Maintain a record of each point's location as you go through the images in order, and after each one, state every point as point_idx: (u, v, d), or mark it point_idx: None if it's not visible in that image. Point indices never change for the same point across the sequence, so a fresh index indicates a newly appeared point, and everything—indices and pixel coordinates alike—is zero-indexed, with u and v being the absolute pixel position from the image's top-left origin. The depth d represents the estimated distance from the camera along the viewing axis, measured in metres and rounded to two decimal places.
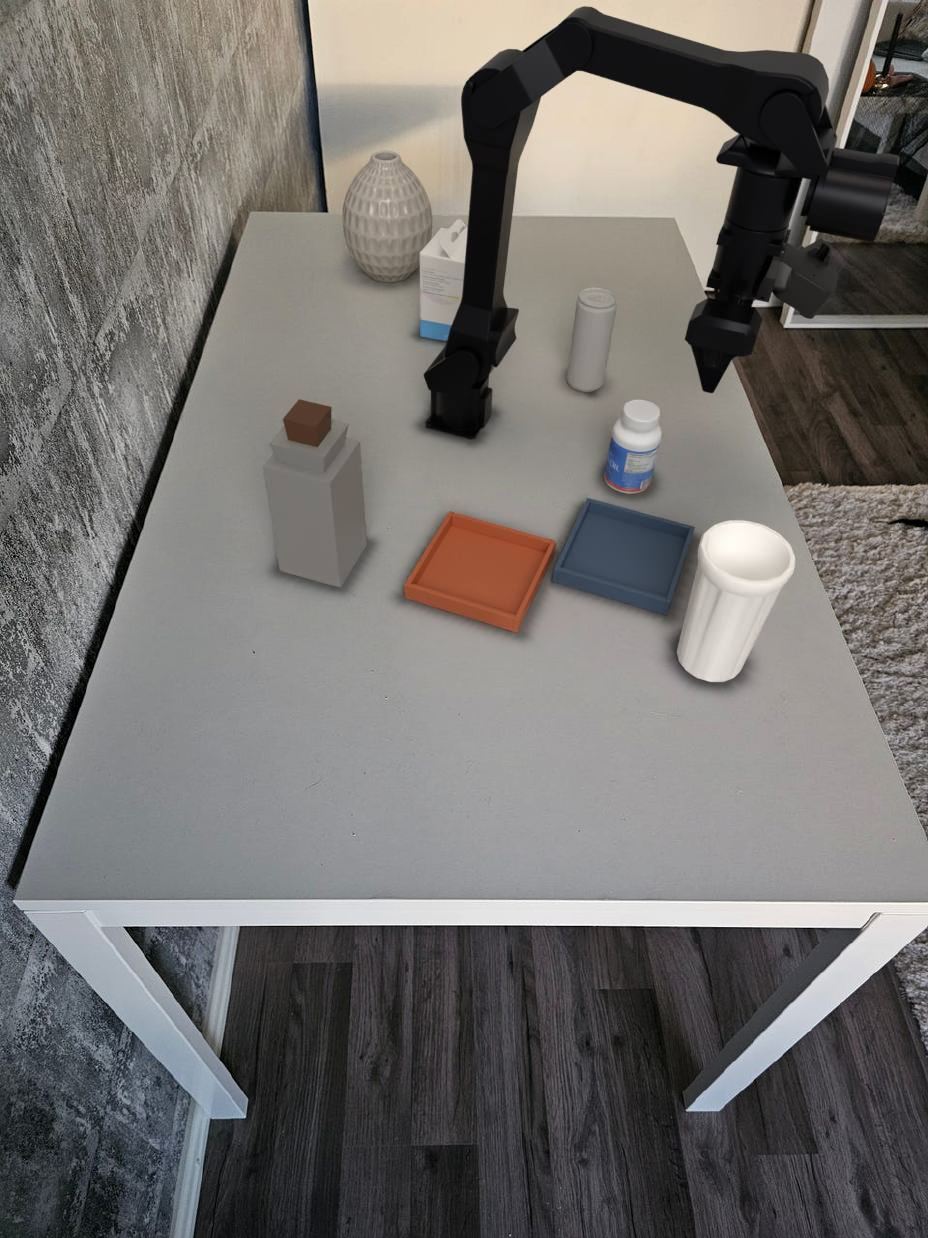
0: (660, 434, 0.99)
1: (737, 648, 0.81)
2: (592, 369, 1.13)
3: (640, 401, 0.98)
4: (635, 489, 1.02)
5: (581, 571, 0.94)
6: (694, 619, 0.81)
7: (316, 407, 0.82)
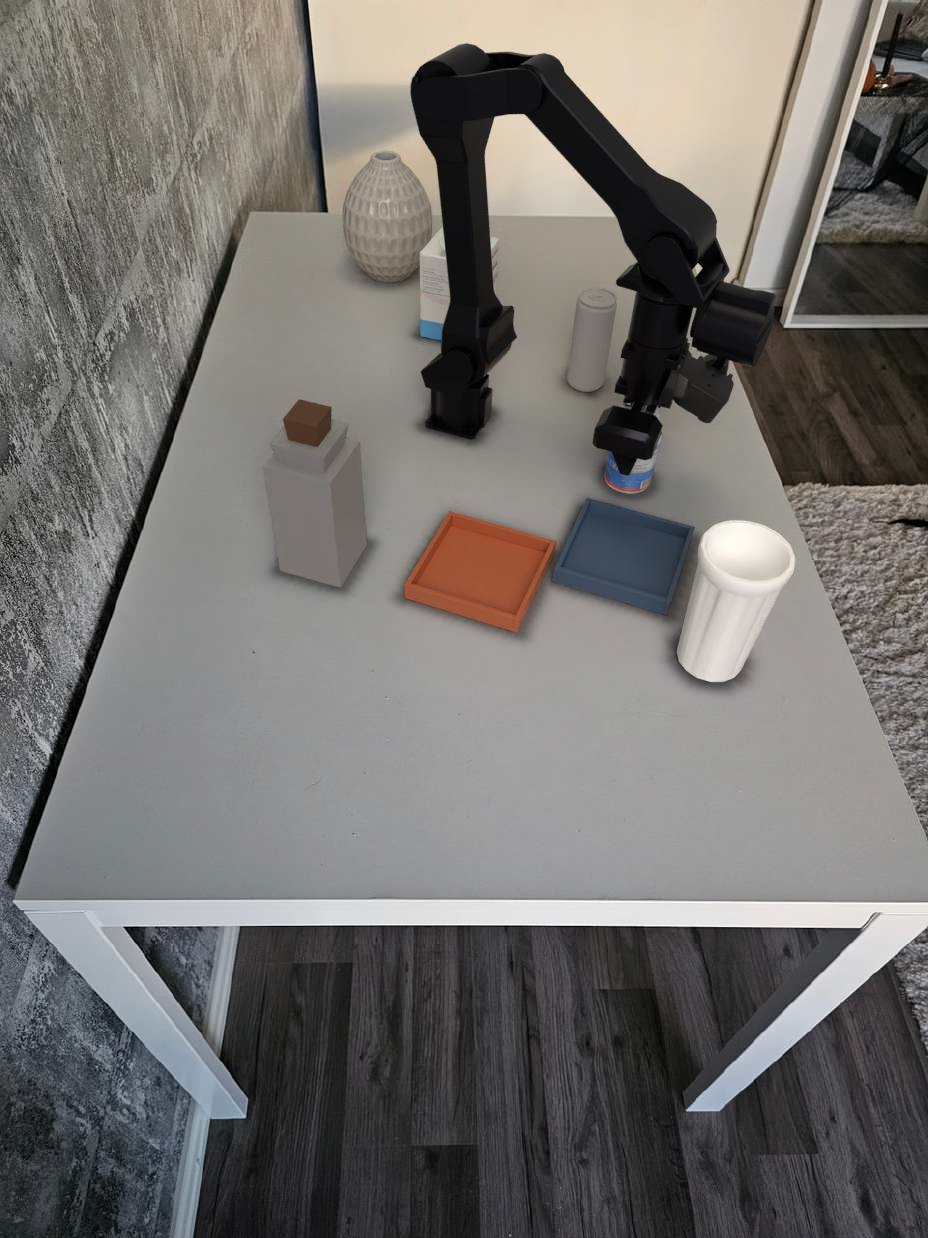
0: None
1: (737, 648, 0.81)
2: (592, 369, 1.13)
3: None
4: (635, 489, 1.02)
5: (581, 571, 0.94)
6: (694, 619, 0.81)
7: (316, 407, 0.82)
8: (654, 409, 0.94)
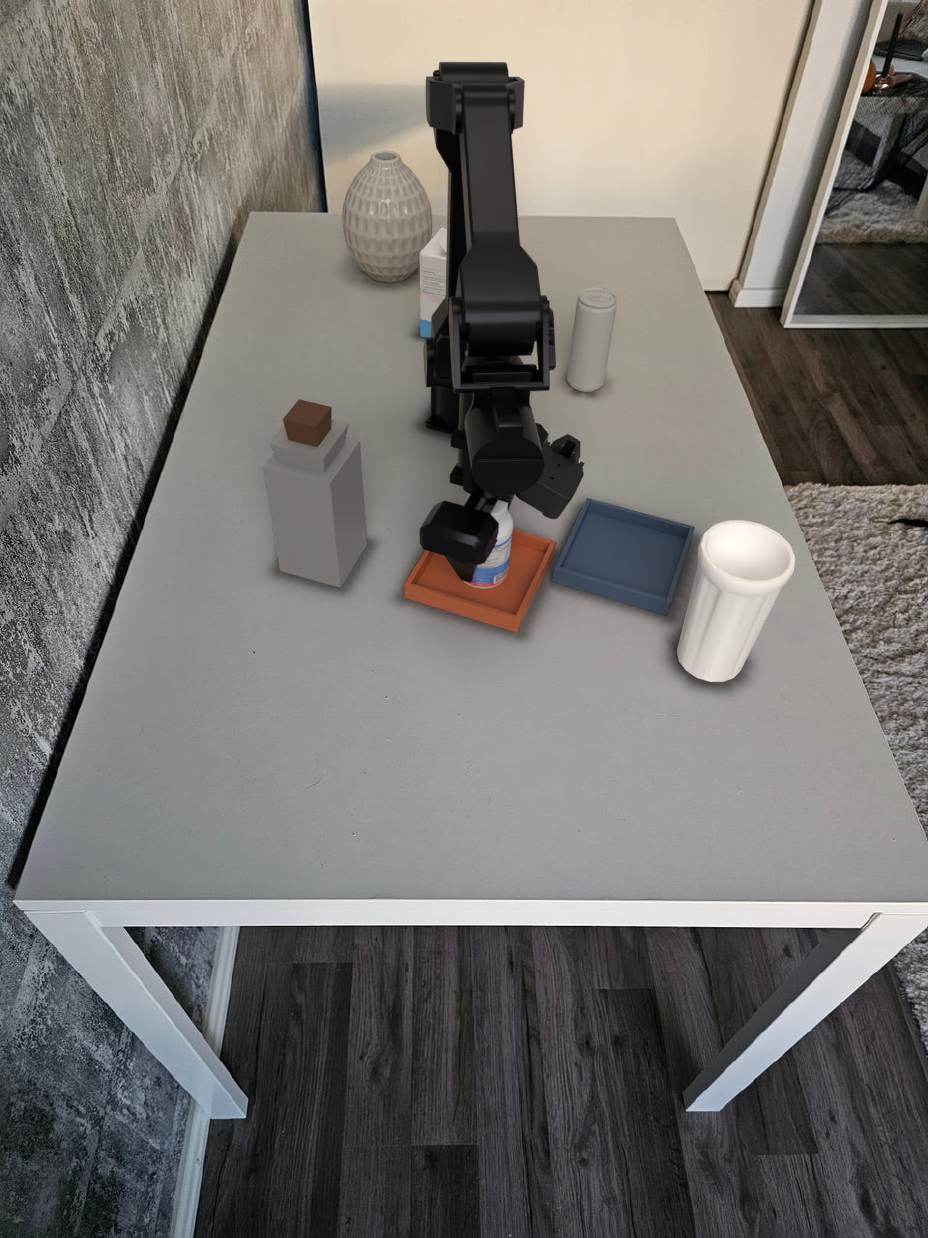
0: (510, 526, 0.87)
1: (737, 648, 0.81)
2: (592, 369, 1.13)
3: None
4: (488, 584, 0.91)
5: (581, 571, 0.94)
6: (694, 619, 0.81)
7: (316, 407, 0.82)
8: None
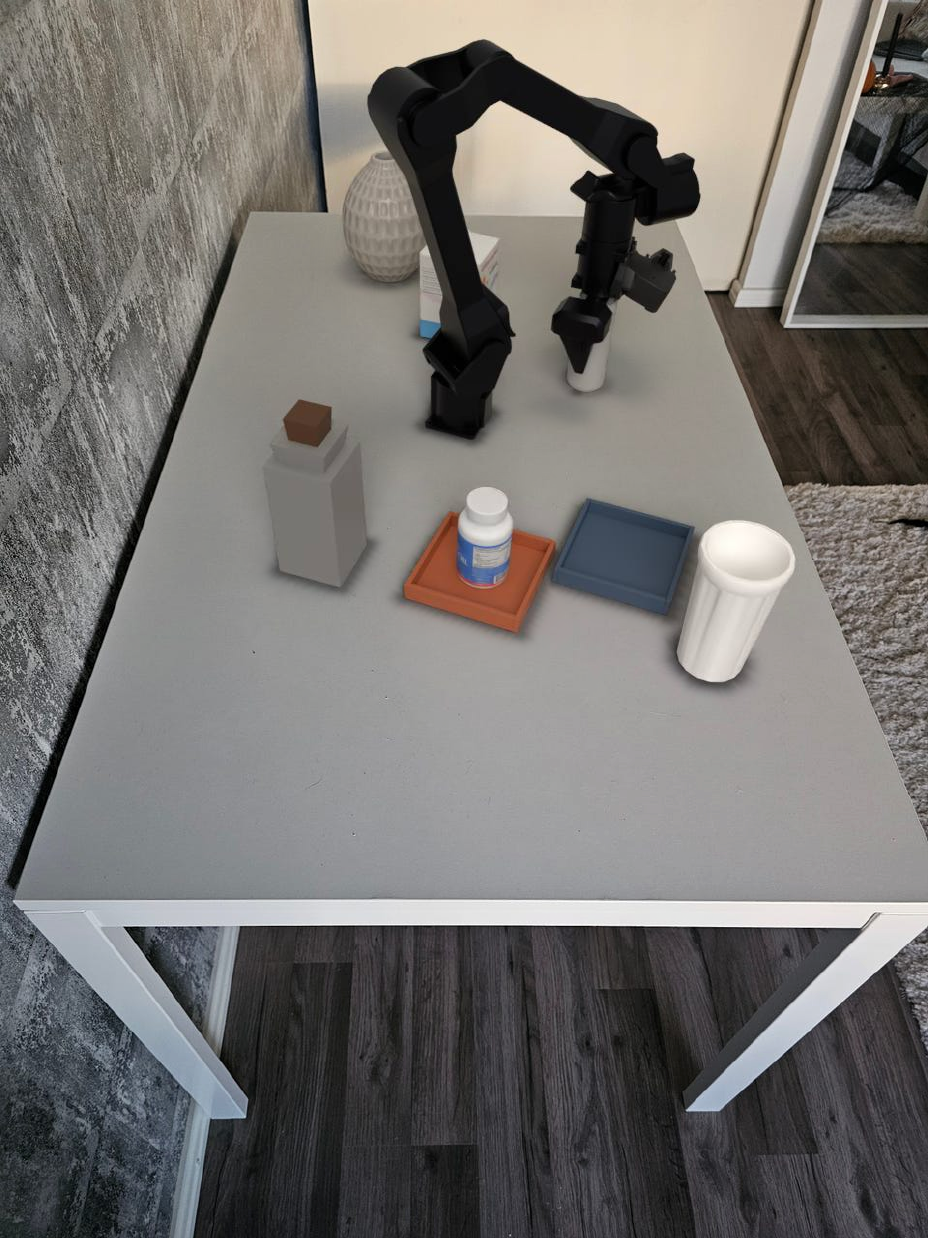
0: (510, 526, 0.87)
1: (737, 648, 0.81)
2: (593, 369, 1.13)
3: (487, 489, 0.87)
4: (488, 584, 0.91)
5: (581, 571, 0.94)
6: (694, 619, 0.81)
7: (316, 407, 0.82)
8: None
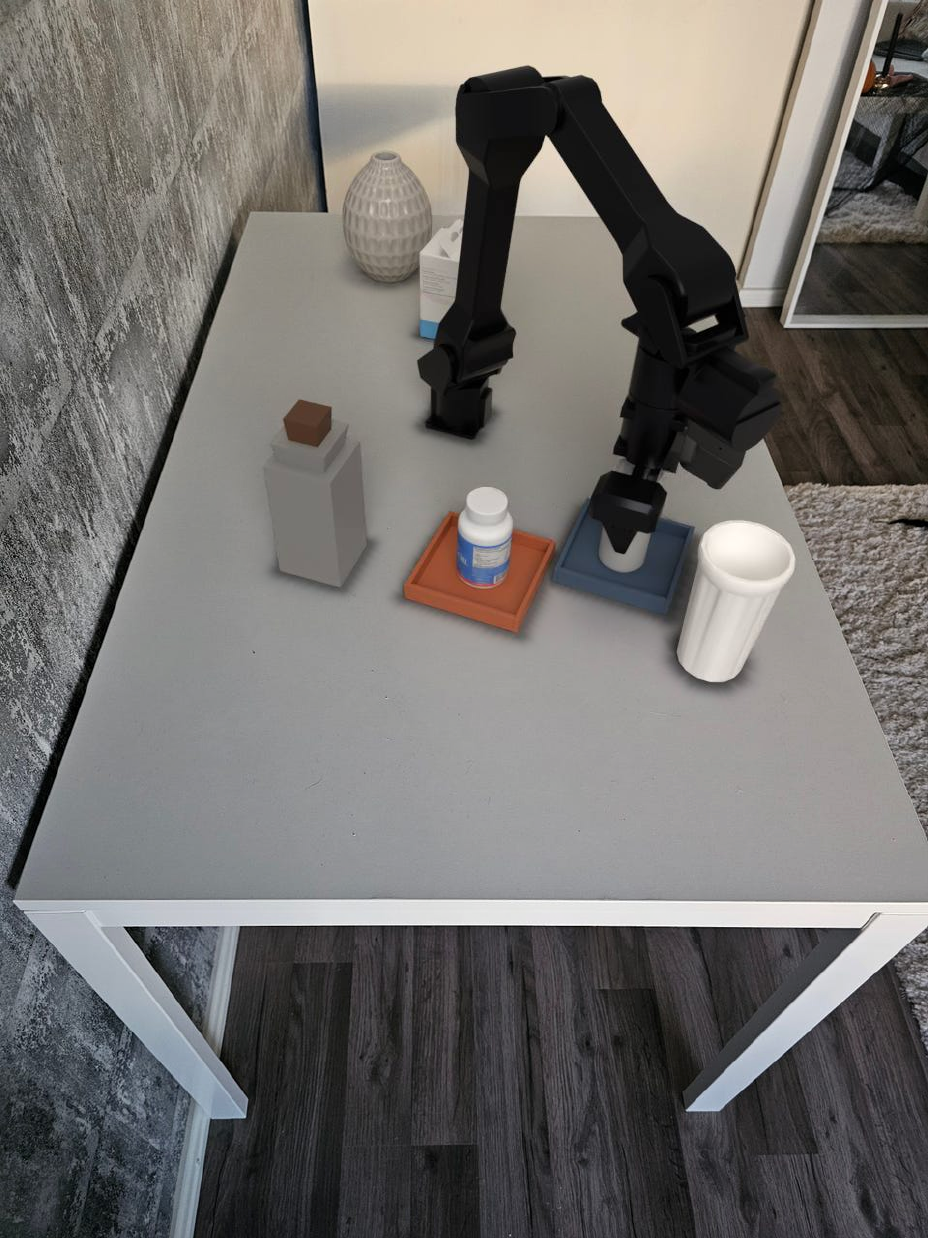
0: (510, 526, 0.87)
1: (737, 648, 0.81)
2: (632, 551, 0.91)
3: (487, 489, 0.87)
4: (488, 584, 0.91)
5: (581, 571, 0.94)
6: (694, 619, 0.81)
7: (316, 407, 0.82)
8: None
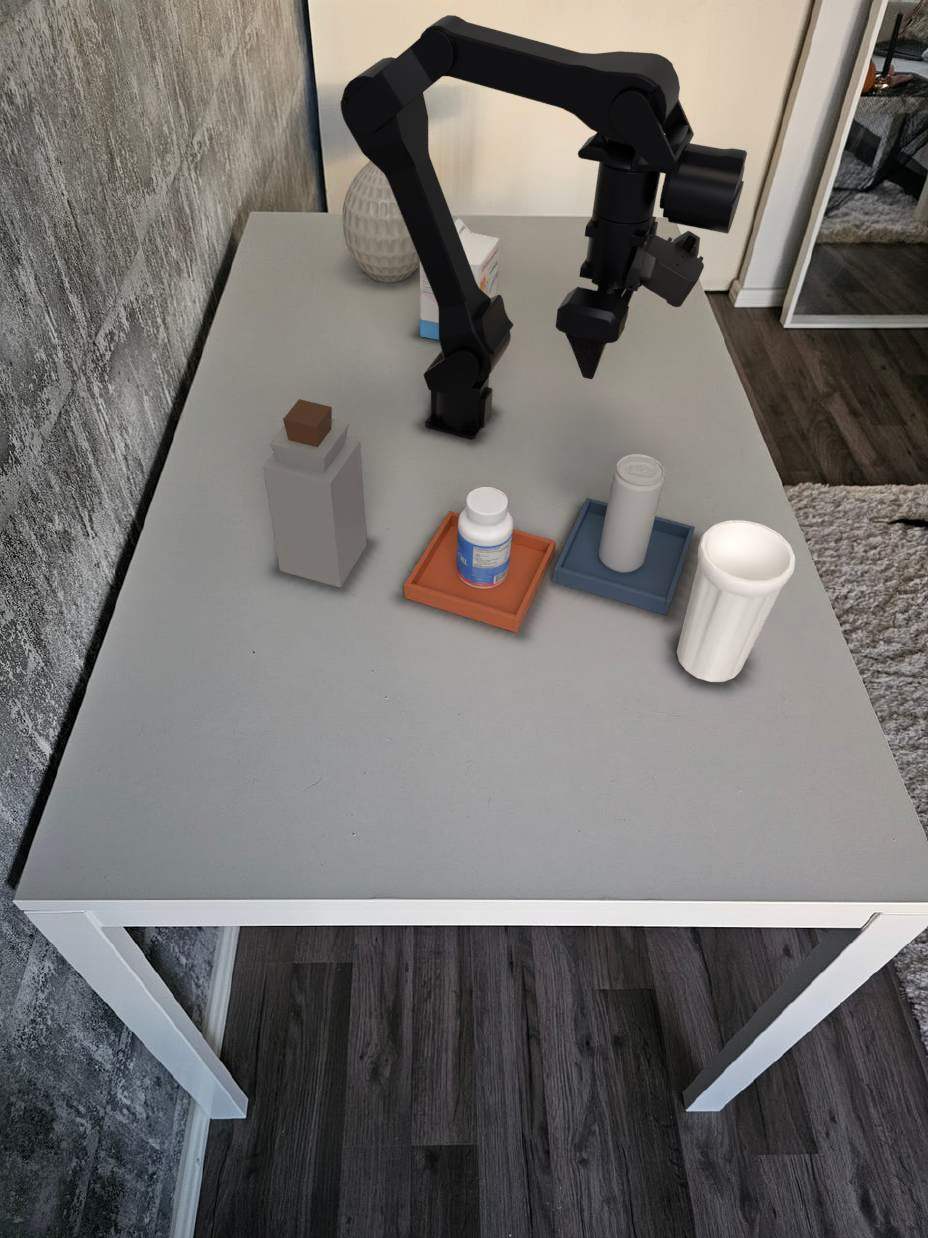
0: (510, 526, 0.87)
1: (737, 648, 0.81)
2: (632, 550, 0.91)
3: (487, 489, 0.87)
4: (488, 584, 0.91)
5: (581, 571, 0.94)
6: (694, 619, 0.81)
7: (316, 407, 0.82)
8: None
